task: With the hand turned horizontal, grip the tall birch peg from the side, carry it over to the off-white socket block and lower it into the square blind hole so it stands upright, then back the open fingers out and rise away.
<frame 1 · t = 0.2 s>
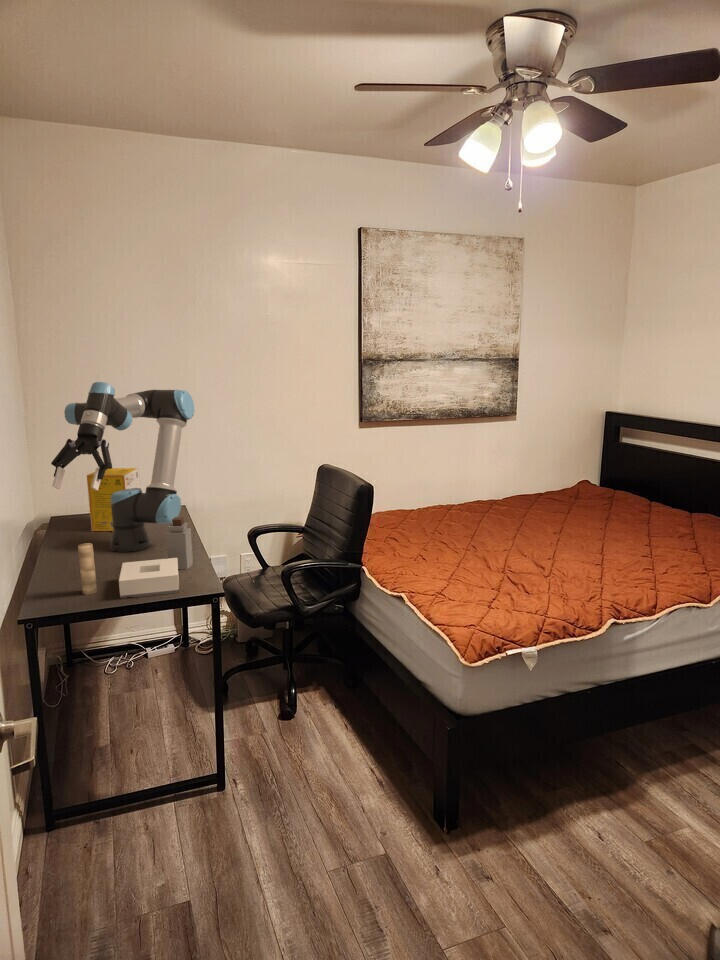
hand: (75, 488, 199), 35 cm above the table, tool tilted 35°, fingers open, 13 cm apart
perfume bottle: (181, 566, 232), on the table
socket block: (150, 585, 213), on the table
birch peg: (89, 592, 208), on the table
packaging box: (118, 527, 283), on the table
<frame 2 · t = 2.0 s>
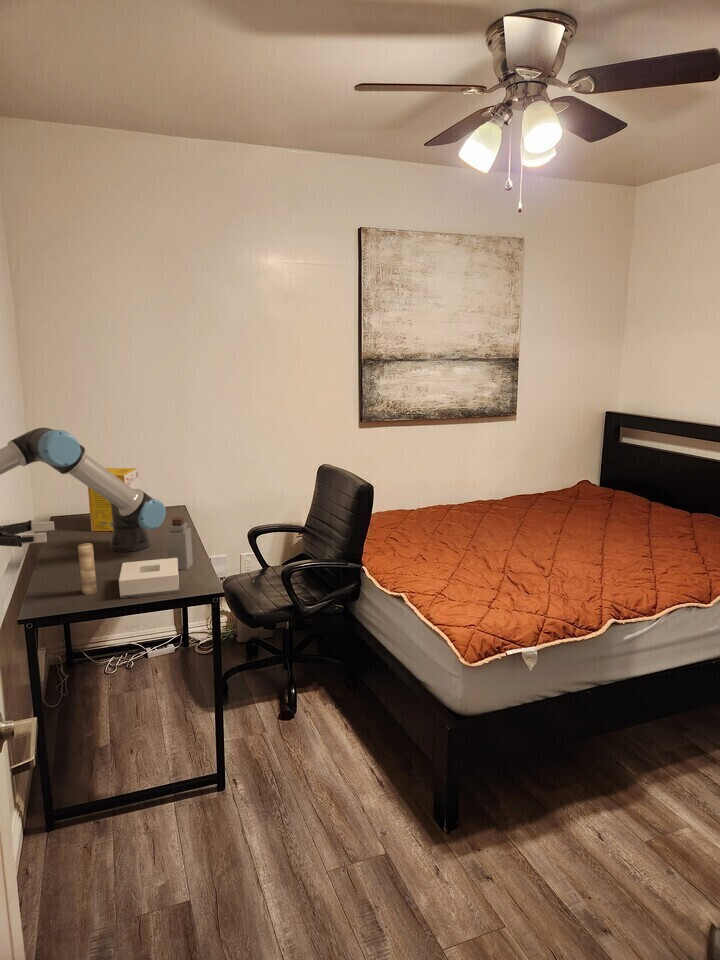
hand: (50, 531, 200), 22 cm above the table, tool horizontal, fingers open, 13 cm apart
nothing on the table moved.
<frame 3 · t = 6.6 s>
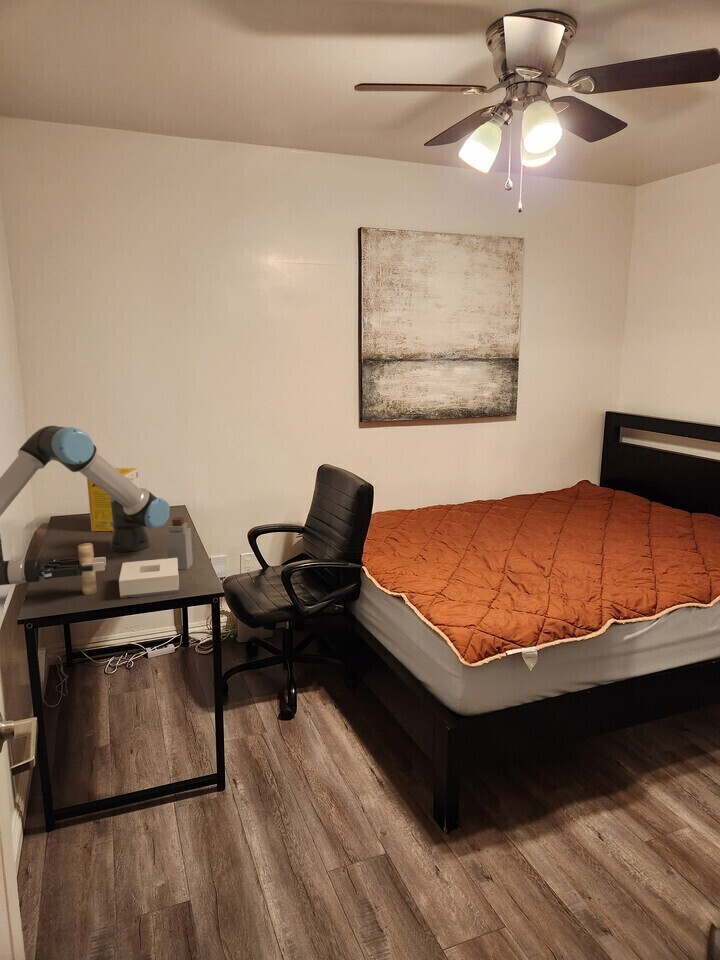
hand: (104, 563, 207), 9 cm above the table, tool horizontal, fingers closed on birch peg, 4 cm apart
birch peg: (89, 592, 208), on the table, touching gripper
everything else where it was.
when the fingers open (11 cm above the table, at t = 12.3 s): birch peg drops 1 cm, resting on socket block.
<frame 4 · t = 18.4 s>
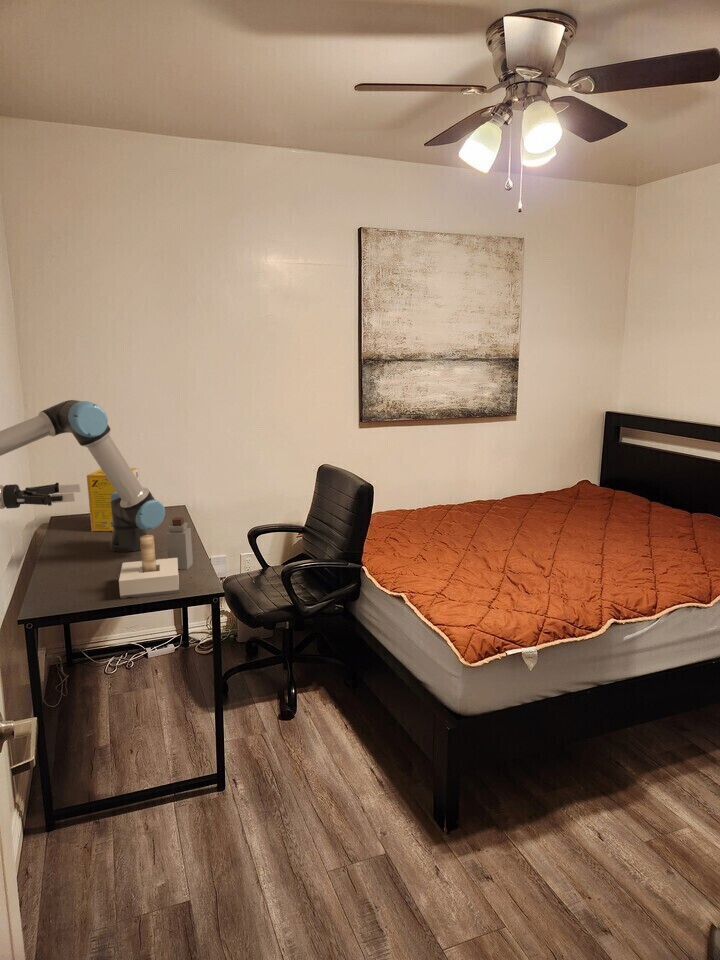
hand: (77, 492, 207), 32 cm above the table, tool horizontal, fingers open, 13 cm apart
birch peg: (150, 582, 213), point 1 cm above the table, touching socket block
everything else where it was.
at the end: birch peg 0.0 cm off-centre on the socket block, point 1.0 cm above the socket block's base; birch peg tilted 0°; the gripper is holding nothing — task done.
